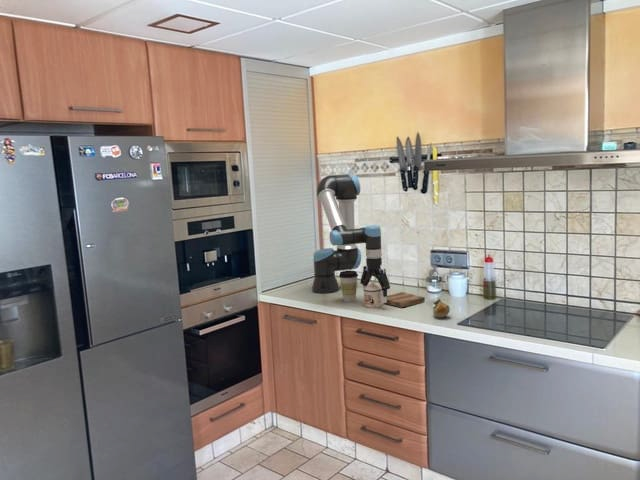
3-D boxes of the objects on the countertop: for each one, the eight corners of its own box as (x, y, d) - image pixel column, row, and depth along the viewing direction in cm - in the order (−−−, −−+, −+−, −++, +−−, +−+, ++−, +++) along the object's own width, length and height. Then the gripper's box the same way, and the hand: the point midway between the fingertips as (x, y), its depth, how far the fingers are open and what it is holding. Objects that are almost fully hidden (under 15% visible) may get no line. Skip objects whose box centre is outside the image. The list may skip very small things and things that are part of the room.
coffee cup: (344, 304, 267) (343, 275, 265) (337, 299, 276) (335, 271, 274) (362, 301, 270) (361, 272, 268) (354, 297, 279) (352, 269, 277)
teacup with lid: (360, 306, 261) (359, 283, 260) (373, 302, 267) (372, 279, 265) (377, 310, 252) (376, 286, 250) (390, 306, 258) (390, 283, 256)
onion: (431, 319, 233) (431, 302, 232) (433, 314, 241) (432, 297, 239) (449, 320, 231) (449, 302, 230) (450, 315, 239) (449, 297, 237)
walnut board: (379, 302, 266) (379, 297, 266) (402, 296, 275) (401, 292, 275) (401, 308, 253) (401, 303, 253) (424, 302, 262) (424, 297, 262)
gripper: (352, 255, 264) (353, 297, 267) (385, 261, 244) (386, 306, 247) (363, 253, 268) (365, 295, 271) (396, 259, 248) (398, 303, 251)
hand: (375, 300), depth 259 cm, fingers closed on teacup with lid, 12 cm apart
